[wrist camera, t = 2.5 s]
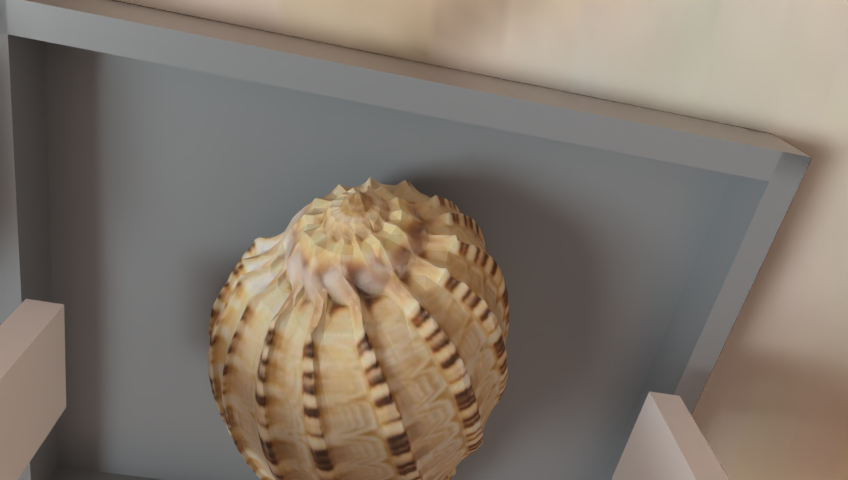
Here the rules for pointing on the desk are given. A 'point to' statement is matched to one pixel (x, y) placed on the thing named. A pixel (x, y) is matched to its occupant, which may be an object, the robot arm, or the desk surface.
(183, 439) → the tray
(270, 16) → the desk surface
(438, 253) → the seashell
